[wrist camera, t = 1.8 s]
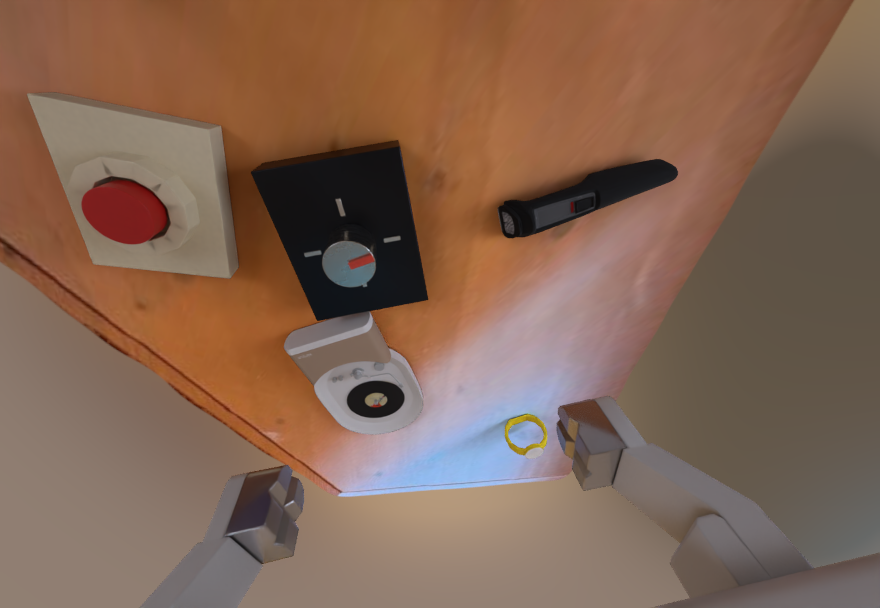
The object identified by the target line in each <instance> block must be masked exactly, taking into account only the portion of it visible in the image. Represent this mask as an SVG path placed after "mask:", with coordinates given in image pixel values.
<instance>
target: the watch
mask: <svg viewBox="0 0 880 608" xmlns="http://www.w3.org/2000/svg"><path fill="white" fill-rule="evenodd" d="M526 420H528V421H531V422H534V423H536V424H537V425H538V426H539V427H541V429H542V431H543V433H544V438H543V440H542V441H541V443H540V444H531V445H529V446H527V447H526V448H525V449H524V448H518V447H517V446H516V445H514V444H513V443H511V441H510V439H509V437H508V431H509V430H510V428H511V426H512V425H515V424H518V423H521V422H524V421H526ZM505 438H506V442H507V443H508V445H509V447H510V448H511V449H512V450H513V451H514V452H516V453H517V454H520V455H525V457H526V458H527V459H535V458H537V457H539V456H541V455H542V454H543V452H544V449H543V448H544V447H545V446H546V444H547V430H546V428H545V425H544V423H543V422H542V421H541V420H540V419H538V418H537V417H535V416H533V415H530V414H525V415H522V416H519V417H517V418H513V419H510V420H509V421H508V422H507V424H506V426H505Z"/></svg>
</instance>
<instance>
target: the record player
mask: <svg viewBox="0 0 880 608" xmlns="http://www.w3.org/2000/svg"><path fill="white" fill-rule="evenodd" d="M284 349H285V350H286V352H287V353H288V354H289V356H290V357H291V358H292V359H293V361H294V362H295V363H296V364H297V366H298V367H299V368H300V369H301V371H302V372H303V373H304V374H305V376H306V377H307V378H308V379H309V381H310V382H311V383H312V384H313V386H314V389H315V393H316V395H317V397H318V398H319V400H320V401H321V402H322V404H323V405H324V406H325V408H326V409H327V410H328V411H329V412H330V414H331V415H332V416H333V417H334V418H335V420H336V421H337V422H338V423H339V424H340V425H341V426H343V427H344V428H346V429H348V430H351V431H353V432H357V433H362V434H385V433H390V432H394V431H397V430H399V429H402V428H404V427H406V426H408V425H409V424H411V423H412V422H413V421H414V420H415V419H416V418H417V417H418V416H419V415H420V413H421V411H422V408H423V396H422V391H421V388H420V386H419V384H418V381H417V379H416V377H415V375H414V373H413V371H412V369H411V367H410V366H409V364H408V362H407V361H406V359H405V358H404V357H403V356H402V355H400V354H399V353H397V352H396V351H394V350H392V349H389V348H388V346H387V344H386V342H385V340H384V338H383V336H382V335H381V333H380V331H379V329H378V327H377V325H376V323H375V321H374V319H373V317H372V315H371V313H370V311H367V312H362V313H356V314H351V315H346V316H341V317H336V318H333V319H330V320H327V321H324V322H320V323H317V324H314V325H311V326H308V327H305V328H301V329H298V330H295V331H293V332H291V333H290V334H289V336H288V337H287V339H286V341H285V344H284Z"/></svg>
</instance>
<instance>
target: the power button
mask: <svg viewBox="0 0 880 608" xmlns="http://www.w3.org/2000/svg"><path fill="white" fill-rule="evenodd" d="M81 206H82V211H83V214H84V216H85V218H86V219H87V221H88V222H89V223H90V224H91V226H92V227H93V228H94V229H96V230H97V231H98V232H99V233H101V234H102V235H104V236H105V237H107V238H109V239H111V240H114V241H116V242H119V243H123V244H141V243H144V242H146V241H148V240H149V239H151V238H152V237H153V236H155V235H156V234H158V233H159V232H160V231H162V230H163V229H164V228H165V226H166V224H167V212H166V209H165V207H164V205H163V204H162V202H161V201H160V200H159V198H158V197H157V196H156V195H155V194H154V193H152V192H151V191H150V190H148V189H147V188H145V187H143V186H141V185H139V184H137V183H134V182H131V181H126V180H114V181H110V182H108V183H105V184H103V185H100V186H97V187H95V188H92V189H90V190H89V191H87V192H86V193H85V194H84V196H83V198H82V201H81Z"/></svg>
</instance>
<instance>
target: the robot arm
mask: <svg viewBox="0 0 880 608" xmlns="http://www.w3.org/2000/svg"><path fill="white" fill-rule="evenodd" d="M558 415H559V417H560V420H559V421H558V422H557V435H558V440H559V442H560V445H561V447H562V449H563V451H564V454H565V455H567V456H568V457H570V458H571V459H572V460H573V464H572V470H573V472H574V473H575V476H576V478H577V480H578V481H579V484H580V486H581V488H582V489H583V491H585V490H591V489H595V488H601V487H606V486H611V485H613V486H612V487H613V488H614V489H615V490H616V491H618V492H619V493H620V494H621V495H622V496H624V497H625V498H626V499H627V500H628V501H630V502H631V503H632V504H633V505H635V506H636V507H637V508H638V509H639V510H641V511H642V512H643V513H644V514H645V515H647V516H648V517H649V518H650V519H651V520H653V521H654V522H655V523H656V524H657V525H659V526H660V527H661V528H662V529H664V530H665V531H666V532H667V533H668V534H670V535H671V536H672V537H673V538H674V539H676V540H677V541H678V542H679V543H680V545H679V547H678V548H677V550H676V551H675V553H674V554H673V556H672V558H671V562H670V565H671V567H672V568H673V570H674V571H675V573H676V575H677V577H678V578H679V580H680V582H681V583H682V585H683V587H684V588H685V590H686V592H687V593H688V595H689V597H690V598H689V599H685V600H681V601H677V602H673V603H668V604H664V605H660V606H656V607H652V608H880V553H876V554H872V555H868V556H863V557H859V558H855V559H851V560H847V561H842V562H838V563H834V564H830V565H826V566H822V567H818V568H814V567H813V566H812V565H811V564H810V563H809V562H808V561H807V560H806V558H805V557H804V556H803V555H802V554H801V553H800V552H799V551H798V550H797V549H796V547H795V546H794V545H793V544H792V543H791V542H790V541H789V540H788V538H787V537H786V536H785V535H784V534H783V533H782V532H781V531H780V529H779V528H778V527H777V526H776V525H775V524H774V523H773V522H772V521H771V519H769V517H768V516H767V515H766V514H765V513H764V512H763V511H762V509H761V508H760V507H759V506H758V505H757V504H756V503H755V502H754V501H752V500H750V499H748V498H746V497H745V496H743V495H741V494H740V493H738V492H736V491H735V490H733V489H731V488H729V487H728V486H726V485H724V484H722V483H721V482H719V481H717V480H716V479H713V478H712V477H710V476H708V475H707V474H705V473H703V472H702V471H700V470H698V469H696V468H695V467H693V466H691V465H690V464H688V463H686V462H684V461H683V460H681V459H679V458H678V457H676V456H674V455H672V454H671V453H669V452H667V451H665V450H664V449H662V448H660V447H658V446H657V445H655V444H653V443H649V444H647V443H646V442H645V440H644V439H643V438H642V436H641V435H640V434H639V432H638V431H637V430H636V428H635V427H634V426H633V424H632V423H631V422H630V420H629V419H628V418H627V416H626V415H625V414H624V413H623V411H622V410H621V408H620V407H619V406H618V404H617V403H616V402H615V400H614V399H613V398H612V397H610V396H604V397H599V398H595V399H588V400H584V401H580V402H575V403H571V404H567V405H562V406H560V407H559V408H558ZM291 475H292V469H291V468H290V467H289V466H288V465H284V466H279V467H274V468H269V469H264V470H259V471H254V472H249V473H244V474H240V475H235V476H232V477H231V478H230V479H229V480H228V482H227V483H226V485H225V488H224V491H223V493H222V495H221V498H220V500H219V503H218V505H217V508H216V511H215V513H214V515H213V518H212V520H211V523H210V525H209V528H208V530H207V533H206V535H205V537H204V540H203V542H200V543H197V544H196V545H195V546H194V547H193V549H192V550H191V551H190V552H189V553H188V554H187V555H186V556H185V557H184V558H183V560H182V561H181V562H180V563H179V564H178V565H177V567H175V569H174V570H173V571H172V572H171V573H170V574H169V575H168V576H167V578H166V579H165V580H164V581H163V582H162V583H161V585H159V587H158V588H157V589H156V590H155V591H154V592H153V593H152V595H150V597H149V598H148V599H147V600H146V601H145V602H144V603H143V604H142V606H141V607H140V608H237V607H238V605H239V603H240V602H241V600H242V599H243V597H244V596H245V594H246V592H247V591H248V589H249V587H250V586H251V584H252V583H253V581H254V579H255V578H256V576H257V575H258V573H259V571H260V570H261V568H262V567H263V565H262V564H264V563H268V562H272V561H276V560H280V559H283V558H288V557H292V556H293V555H294V550H295V545H296V540H297V535H298V530H299V529H298V527H297V525H296V523H295V521H296V520H297V518H298V517H299V515H300V514H301V512H302V510H303V504H304V490H303V486H302V483H301V482H300V480H299V479H297V478H295V477H292V476H291Z"/></svg>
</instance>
